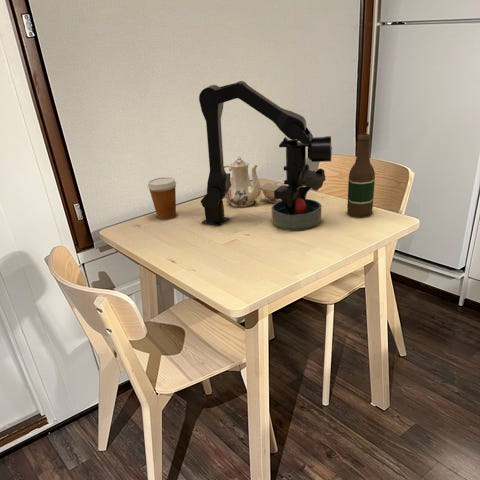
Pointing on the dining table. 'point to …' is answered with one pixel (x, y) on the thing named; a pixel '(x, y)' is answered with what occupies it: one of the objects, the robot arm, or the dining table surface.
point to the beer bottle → (361, 181)
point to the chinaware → (247, 185)
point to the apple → (300, 206)
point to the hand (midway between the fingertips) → (296, 213)
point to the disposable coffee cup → (163, 196)
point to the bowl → (296, 216)
